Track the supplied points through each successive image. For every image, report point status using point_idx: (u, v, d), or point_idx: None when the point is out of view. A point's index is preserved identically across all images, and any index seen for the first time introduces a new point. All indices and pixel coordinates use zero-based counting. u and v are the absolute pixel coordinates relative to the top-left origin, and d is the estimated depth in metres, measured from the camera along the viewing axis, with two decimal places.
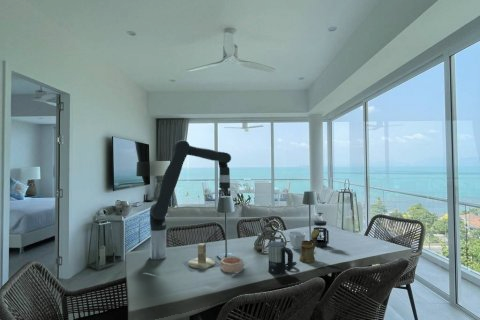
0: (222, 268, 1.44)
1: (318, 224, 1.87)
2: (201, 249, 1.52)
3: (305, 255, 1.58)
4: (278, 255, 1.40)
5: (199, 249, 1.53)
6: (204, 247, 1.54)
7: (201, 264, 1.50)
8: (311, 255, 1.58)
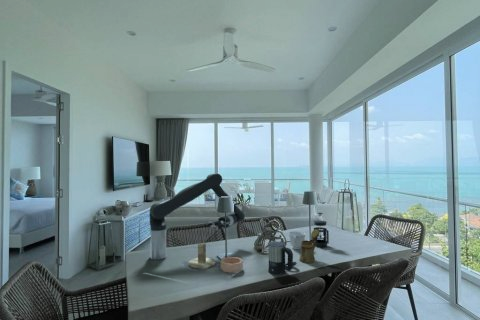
0: (222, 268, 1.44)
1: (318, 224, 1.87)
2: (201, 249, 1.52)
3: (305, 255, 1.58)
4: (278, 255, 1.40)
5: (199, 249, 1.53)
6: (204, 247, 1.54)
7: (201, 264, 1.50)
8: (311, 255, 1.58)
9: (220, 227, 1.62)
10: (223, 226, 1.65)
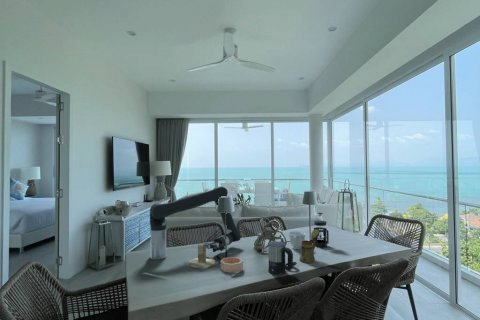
0: (222, 268, 1.44)
1: (318, 224, 1.87)
2: (201, 249, 1.52)
3: (305, 255, 1.58)
4: (279, 255, 1.40)
5: (199, 249, 1.53)
6: (204, 247, 1.54)
7: (201, 264, 1.50)
8: (311, 255, 1.58)
9: (215, 250, 1.57)
10: (218, 249, 1.60)
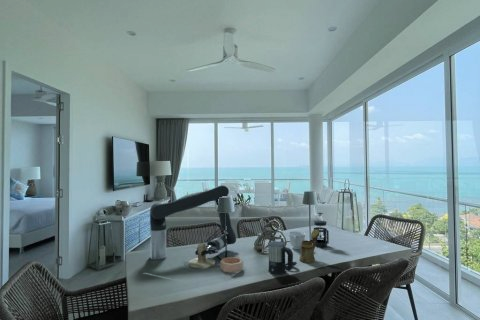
0: (222, 268, 1.44)
1: (318, 224, 1.87)
2: (201, 249, 1.52)
3: (305, 255, 1.58)
4: (279, 255, 1.40)
5: (198, 249, 1.53)
6: (204, 247, 1.54)
7: (201, 264, 1.50)
8: (311, 255, 1.58)
9: (203, 254, 1.51)
10: (207, 252, 1.53)
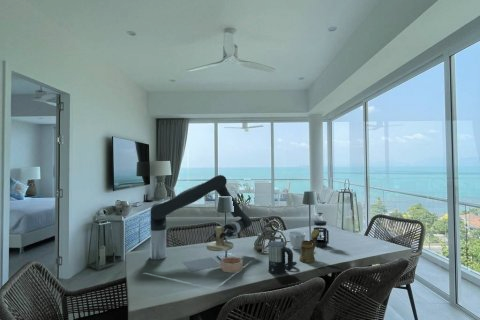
0: (222, 268, 1.44)
1: (318, 224, 1.87)
2: (219, 231, 1.49)
3: (305, 255, 1.58)
4: (279, 255, 1.41)
5: (217, 232, 1.50)
6: (222, 230, 1.50)
7: (220, 247, 1.46)
8: (311, 255, 1.58)
9: (222, 236, 1.47)
10: (225, 235, 1.50)
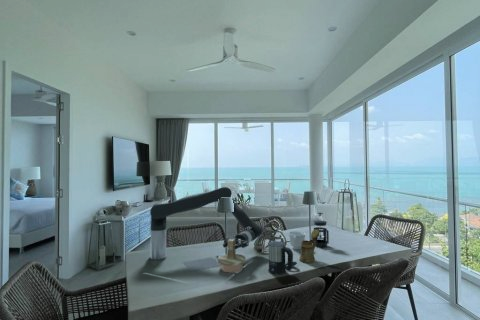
0: (222, 268, 1.44)
1: (318, 224, 1.87)
2: (231, 245, 1.45)
3: (305, 255, 1.58)
4: (279, 255, 1.41)
5: (228, 245, 1.46)
6: (234, 243, 1.47)
7: (232, 260, 1.43)
8: (311, 255, 1.58)
9: (237, 247, 1.44)
10: (240, 246, 1.46)
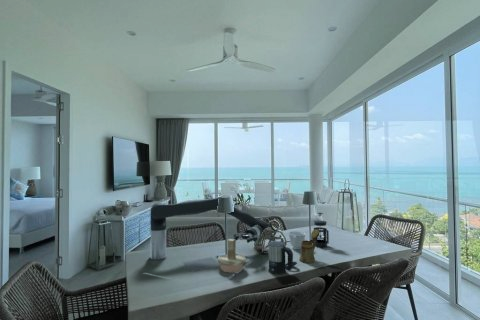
0: (222, 268, 1.44)
1: (318, 224, 1.87)
2: (231, 245, 1.45)
3: (305, 255, 1.58)
4: (279, 255, 1.41)
5: (228, 245, 1.46)
6: (234, 243, 1.47)
7: (232, 260, 1.43)
8: (311, 255, 1.58)
9: (249, 241, 1.55)
10: (252, 239, 1.58)
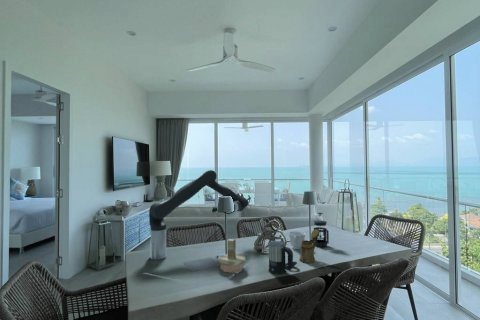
0: (222, 268, 1.44)
1: (318, 224, 1.87)
2: (231, 245, 1.45)
3: (305, 255, 1.58)
4: (279, 255, 1.41)
5: (228, 245, 1.46)
6: (234, 243, 1.47)
7: (232, 260, 1.43)
8: (311, 255, 1.58)
9: None
10: None
